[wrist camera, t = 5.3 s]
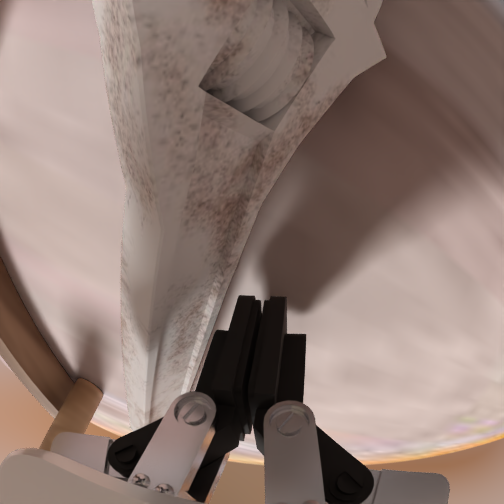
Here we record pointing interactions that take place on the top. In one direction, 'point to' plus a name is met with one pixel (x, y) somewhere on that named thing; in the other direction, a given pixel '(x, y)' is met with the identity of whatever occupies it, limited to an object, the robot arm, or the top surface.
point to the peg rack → (42, 368)
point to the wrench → (208, 153)
